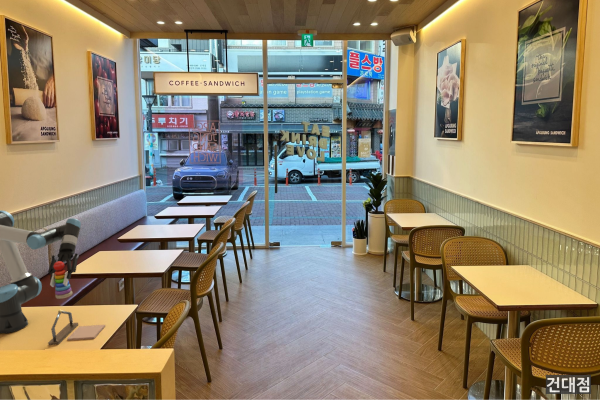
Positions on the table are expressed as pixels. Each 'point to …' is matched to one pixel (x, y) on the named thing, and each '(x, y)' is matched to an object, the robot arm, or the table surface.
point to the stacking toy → (61, 281)
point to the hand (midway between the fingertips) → (58, 285)
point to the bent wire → (65, 331)
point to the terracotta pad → (86, 332)
